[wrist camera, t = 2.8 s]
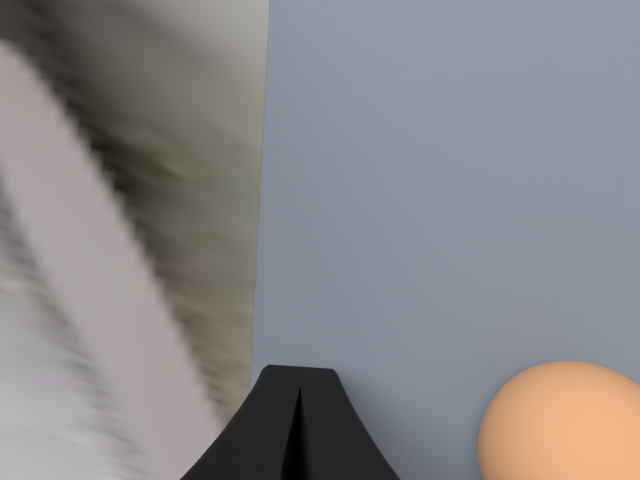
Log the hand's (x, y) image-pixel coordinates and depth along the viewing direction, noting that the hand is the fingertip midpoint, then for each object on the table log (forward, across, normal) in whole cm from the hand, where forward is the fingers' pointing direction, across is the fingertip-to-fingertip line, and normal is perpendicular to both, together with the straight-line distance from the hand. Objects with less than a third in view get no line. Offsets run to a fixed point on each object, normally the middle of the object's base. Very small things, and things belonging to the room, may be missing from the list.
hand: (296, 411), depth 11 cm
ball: (+1, -5, 0) cm, 5 cm away
